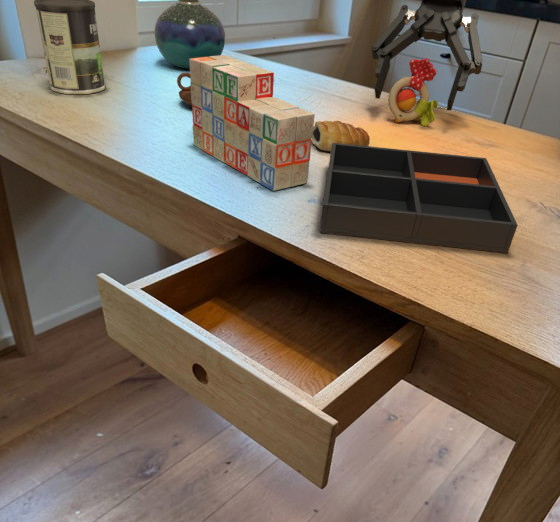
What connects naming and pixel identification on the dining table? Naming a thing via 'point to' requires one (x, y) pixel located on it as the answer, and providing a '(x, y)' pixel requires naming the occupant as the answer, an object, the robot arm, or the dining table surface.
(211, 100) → the stack of blocks
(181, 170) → the dining table surface
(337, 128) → the pastry
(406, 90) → the bird rattle
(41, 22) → the coffee can
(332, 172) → the grid
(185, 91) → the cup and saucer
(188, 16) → the vase
